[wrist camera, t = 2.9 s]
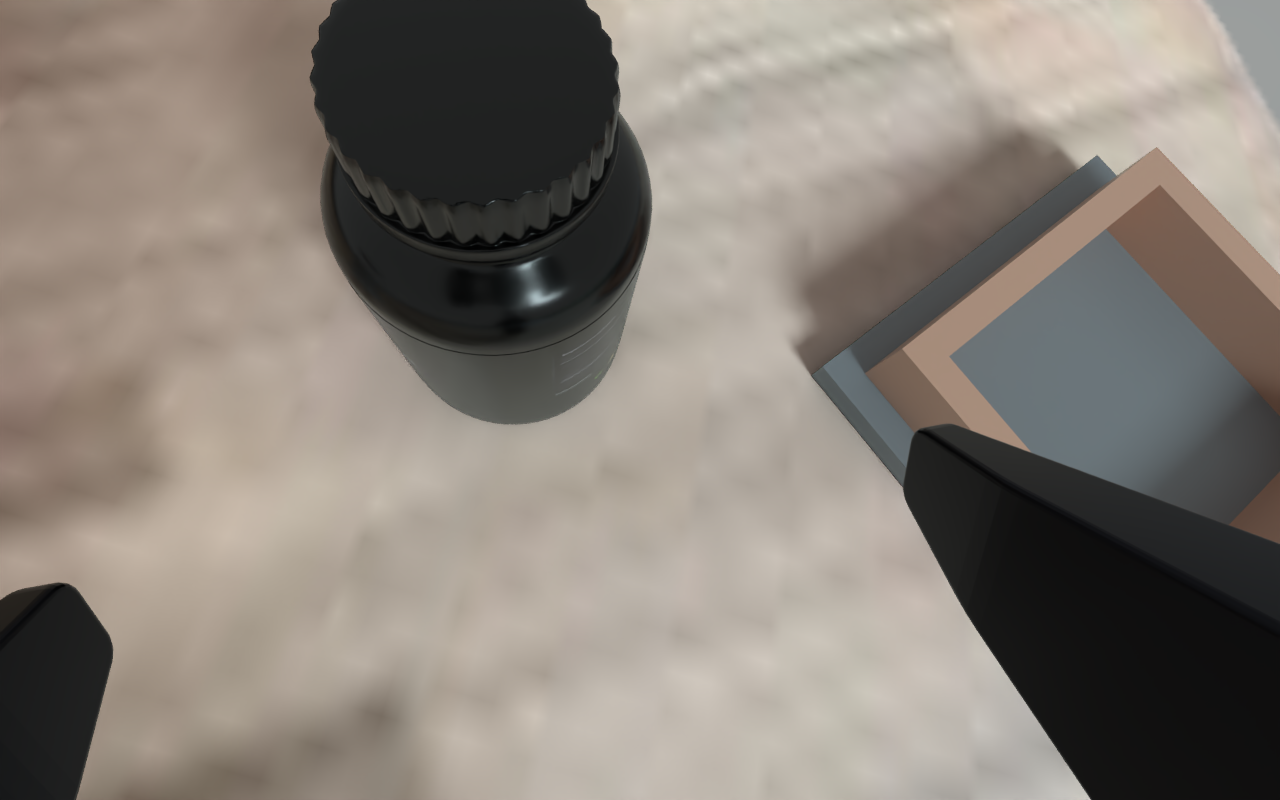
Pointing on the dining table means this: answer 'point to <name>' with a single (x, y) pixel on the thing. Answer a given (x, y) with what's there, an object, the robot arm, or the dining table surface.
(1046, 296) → the dock
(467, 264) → the supplement bottle
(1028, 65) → the dining table surface
